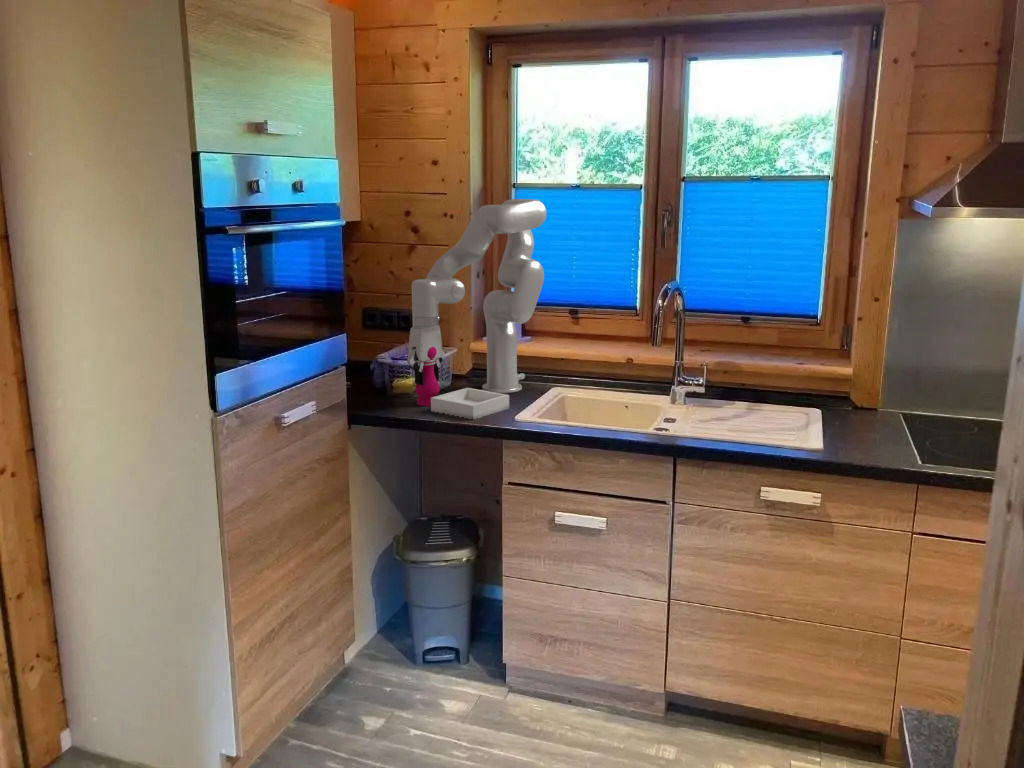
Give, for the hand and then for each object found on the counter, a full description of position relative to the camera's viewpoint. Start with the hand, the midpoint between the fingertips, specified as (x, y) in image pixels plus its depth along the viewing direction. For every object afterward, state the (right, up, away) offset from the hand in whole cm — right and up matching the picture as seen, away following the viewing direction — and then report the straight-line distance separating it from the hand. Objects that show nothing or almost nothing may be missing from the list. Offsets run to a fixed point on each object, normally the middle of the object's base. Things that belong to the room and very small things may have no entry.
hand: (427, 381), depth 247 cm
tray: (+13, -8, -6) cm, 17 cm away
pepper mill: (0, -7, +2) cm, 7 cm away
